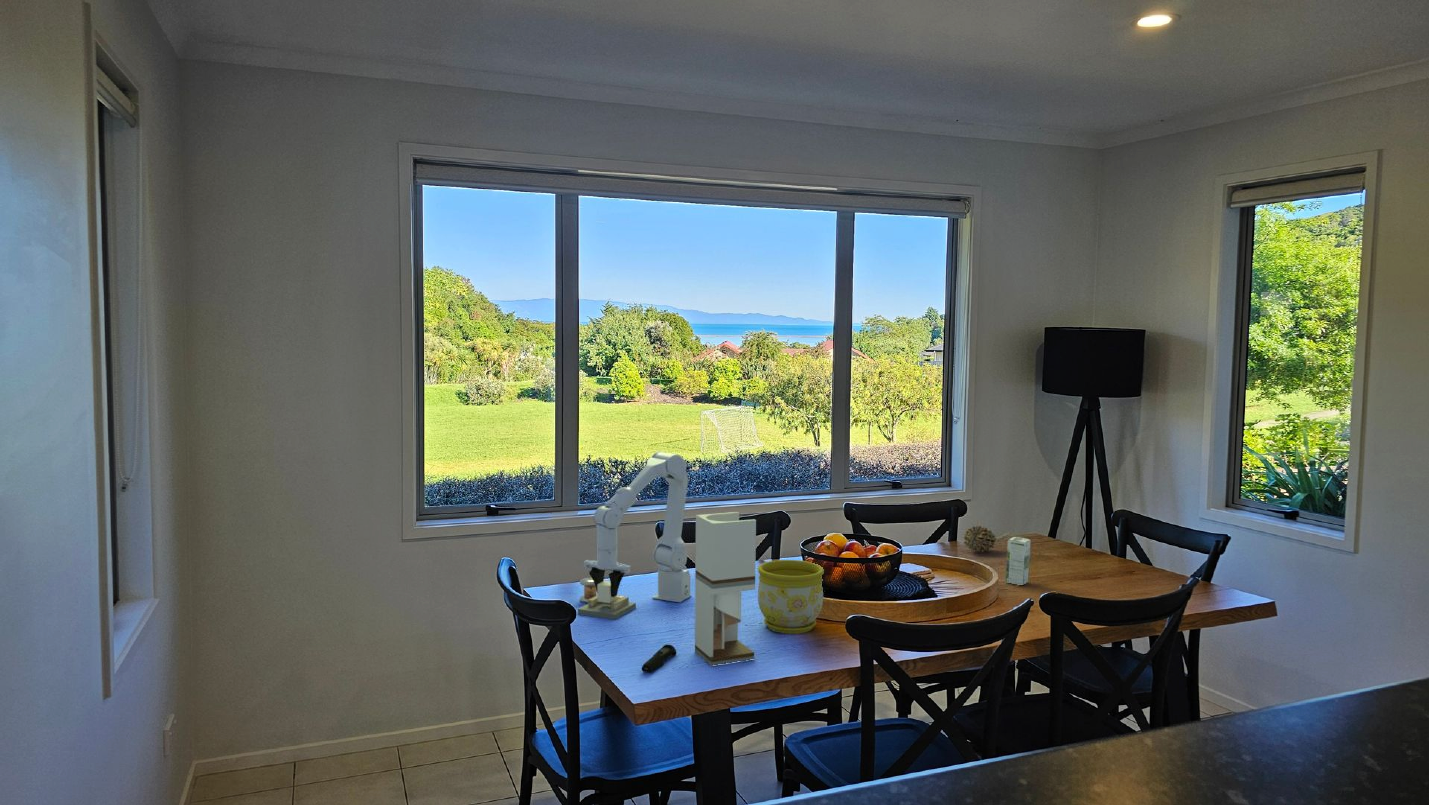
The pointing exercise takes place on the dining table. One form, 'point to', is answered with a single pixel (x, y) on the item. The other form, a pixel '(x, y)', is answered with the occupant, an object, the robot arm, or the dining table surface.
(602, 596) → the block
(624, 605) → the notched board
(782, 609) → the flowerpot
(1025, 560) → the syrup box
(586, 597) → the bobbin spool
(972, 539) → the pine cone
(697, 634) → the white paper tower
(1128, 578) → the dining table surface
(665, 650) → the electric trimmer
